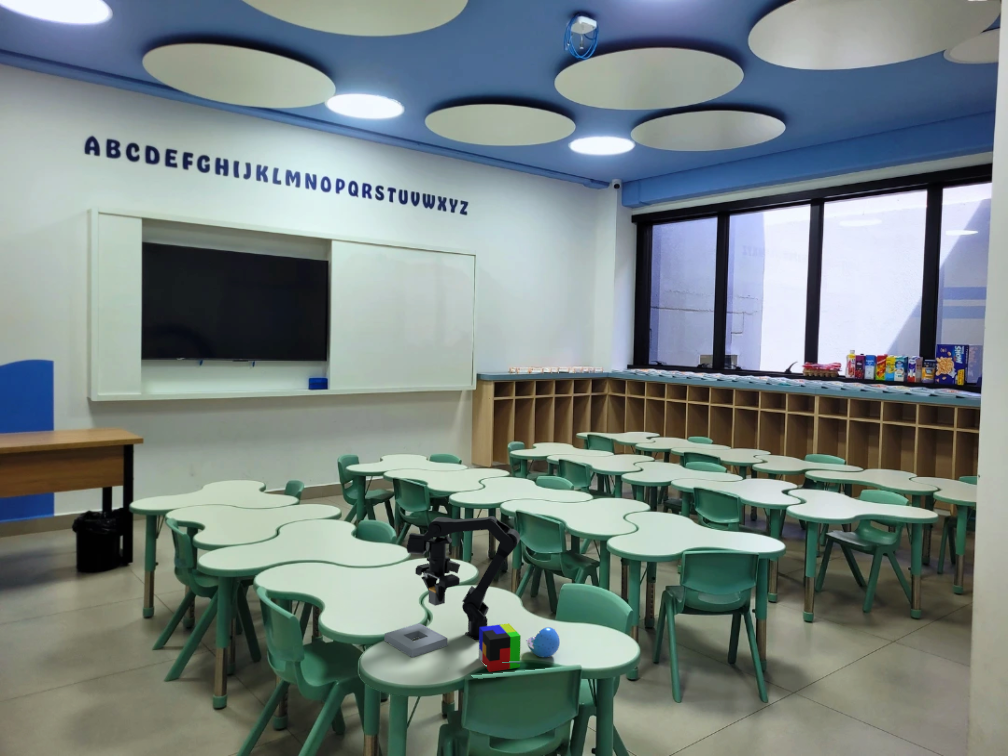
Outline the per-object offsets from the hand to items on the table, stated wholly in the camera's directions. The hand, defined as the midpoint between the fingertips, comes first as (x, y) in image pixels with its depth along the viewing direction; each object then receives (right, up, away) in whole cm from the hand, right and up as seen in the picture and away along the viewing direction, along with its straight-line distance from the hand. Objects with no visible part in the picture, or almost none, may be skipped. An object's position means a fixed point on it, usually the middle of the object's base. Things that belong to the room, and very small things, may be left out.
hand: (436, 599), depth 241 cm
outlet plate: (-6, -11, -9) cm, 16 cm away
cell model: (+35, -13, -16) cm, 41 cm away
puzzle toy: (+22, -13, -22) cm, 34 cm away
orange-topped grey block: (0, -1, 0) cm, 1 cm away
